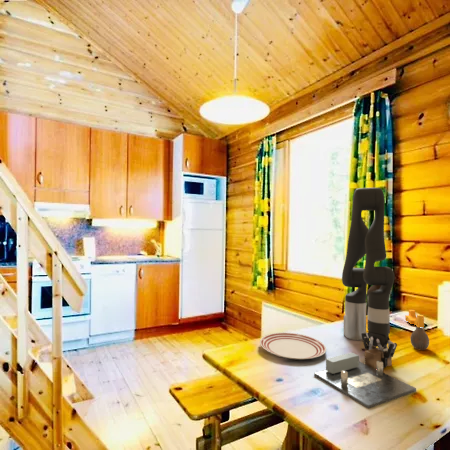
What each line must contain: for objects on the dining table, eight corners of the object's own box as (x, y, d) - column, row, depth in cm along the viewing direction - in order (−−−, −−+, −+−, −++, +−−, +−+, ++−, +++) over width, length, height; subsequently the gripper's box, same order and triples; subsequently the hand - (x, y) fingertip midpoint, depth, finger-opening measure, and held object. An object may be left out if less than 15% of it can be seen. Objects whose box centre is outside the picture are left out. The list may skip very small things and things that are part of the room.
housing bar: (326, 370, 109) (326, 358, 109) (352, 363, 115) (352, 352, 115) (332, 373, 107) (332, 362, 107) (358, 366, 112) (358, 355, 112)
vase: (406, 345, 138) (406, 325, 138) (421, 345, 139) (421, 325, 139) (417, 351, 131) (417, 331, 131) (433, 351, 132) (433, 330, 132)
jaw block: (364, 366, 116) (364, 350, 117) (381, 361, 121) (381, 346, 121) (374, 371, 113) (374, 354, 113) (391, 365, 118) (391, 349, 118)
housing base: (314, 377, 108) (314, 359, 108) (358, 364, 118) (358, 349, 118) (368, 410, 88) (368, 389, 88) (416, 392, 98) (416, 373, 98)
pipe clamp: (405, 321, 175) (405, 309, 175) (413, 321, 174) (413, 310, 174) (414, 327, 163) (414, 315, 163) (423, 328, 162) (423, 316, 162)
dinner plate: (337, 350, 132) (337, 343, 132) (305, 372, 112) (305, 363, 112) (282, 335, 151) (282, 328, 151) (246, 351, 131) (246, 343, 131)
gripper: (355, 315, 122) (355, 359, 122) (389, 326, 109) (389, 374, 109) (369, 313, 125) (368, 355, 125) (402, 323, 112) (402, 370, 112)
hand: (378, 364), depth 117 cm, fingers closed on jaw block, 4 cm apart
